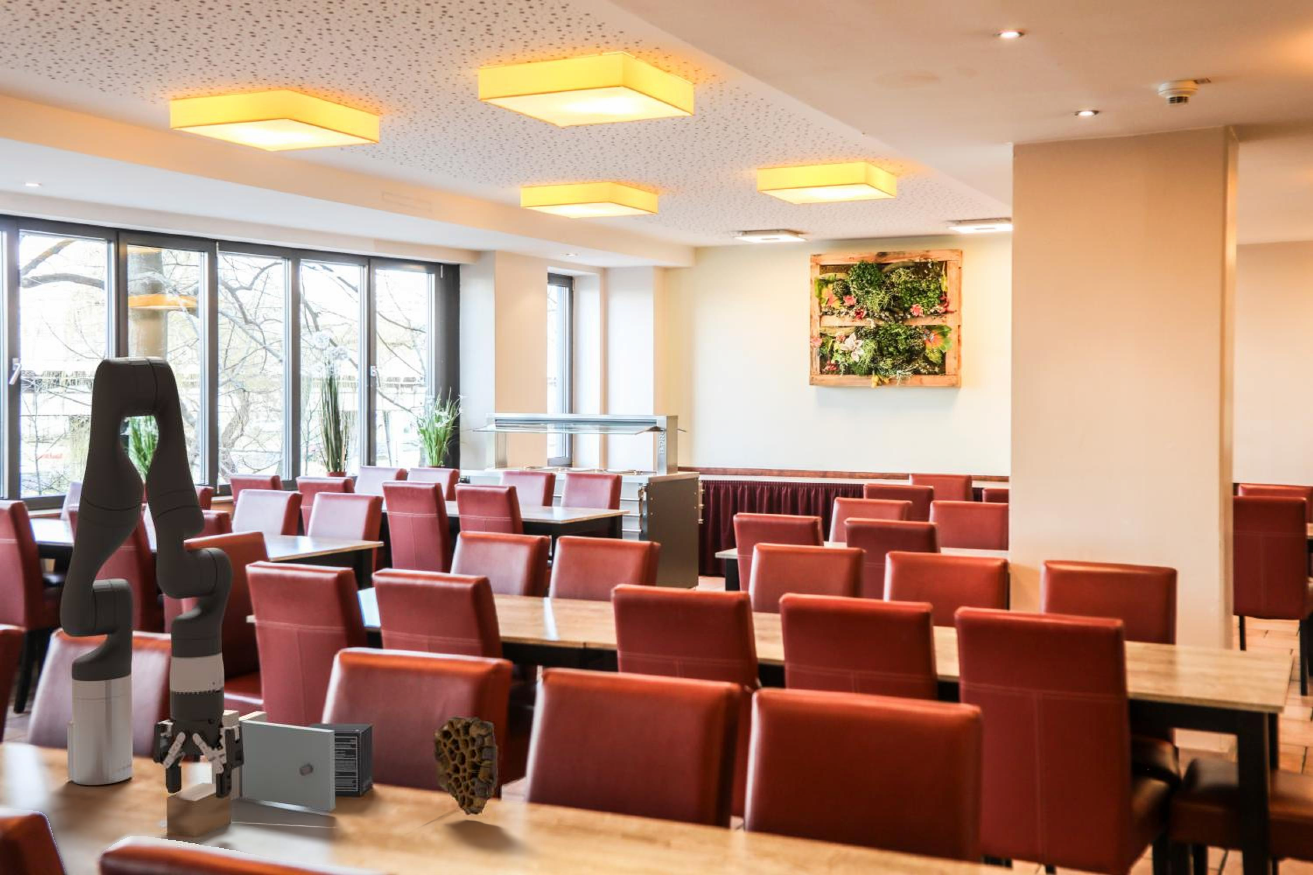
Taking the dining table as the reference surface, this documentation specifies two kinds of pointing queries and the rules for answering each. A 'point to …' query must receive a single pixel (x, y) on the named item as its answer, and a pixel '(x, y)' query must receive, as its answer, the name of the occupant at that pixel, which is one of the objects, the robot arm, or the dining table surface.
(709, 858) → the dining table surface
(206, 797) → the block
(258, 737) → the door
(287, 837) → the dining table surface
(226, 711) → the door frame
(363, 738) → the small box
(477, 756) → the brown wasp nest
